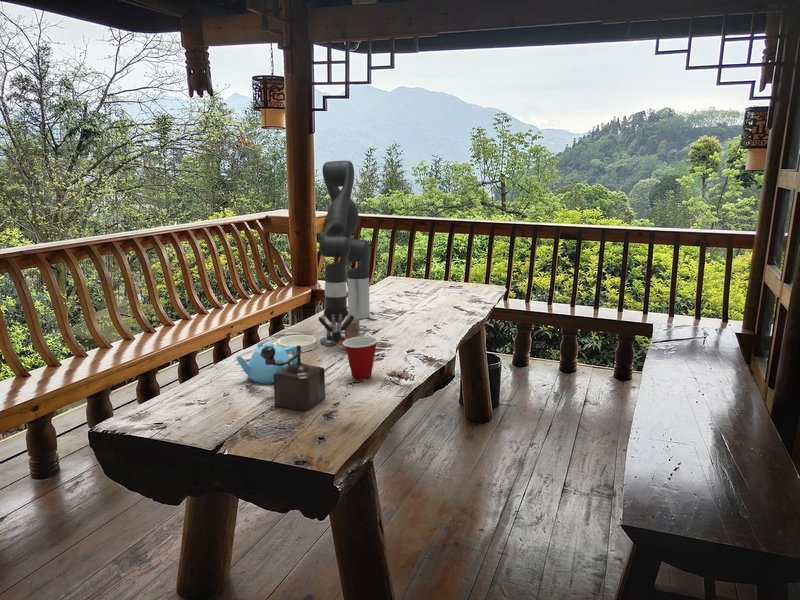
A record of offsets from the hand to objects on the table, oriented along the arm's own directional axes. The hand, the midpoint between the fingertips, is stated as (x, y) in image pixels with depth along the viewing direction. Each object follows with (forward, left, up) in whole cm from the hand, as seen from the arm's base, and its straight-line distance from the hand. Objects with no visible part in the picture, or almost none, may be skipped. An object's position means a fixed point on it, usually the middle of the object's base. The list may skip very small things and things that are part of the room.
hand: (336, 342), depth 210 cm
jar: (-24, +9, -3) cm, 26 cm away
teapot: (+16, -28, -3) cm, 33 cm away
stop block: (-11, +11, -3) cm, 15 cm away
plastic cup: (+29, -3, -3) cm, 29 cm away
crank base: (-9, +1, -3) cm, 9 cm away
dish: (-10, -11, -3) cm, 15 cm away
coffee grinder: (+41, -28, -3) cm, 50 cm away
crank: (-3, +2, -2) cm, 4 cm away
